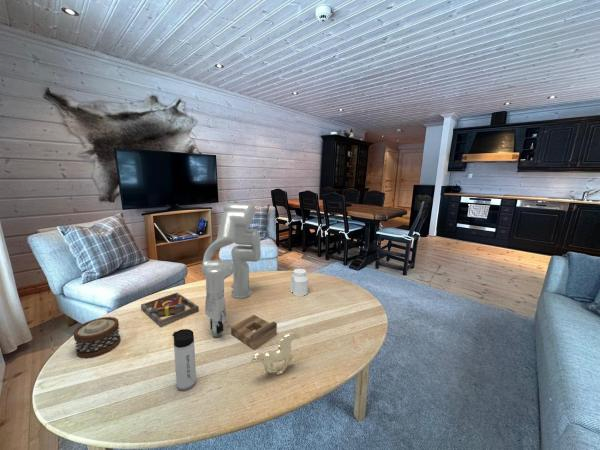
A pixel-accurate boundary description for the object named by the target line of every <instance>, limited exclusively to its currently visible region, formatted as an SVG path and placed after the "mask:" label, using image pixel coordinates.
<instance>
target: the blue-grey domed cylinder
mask: <svg viewBox="0 0 600 450" xmlns="http://www.w3.org/2000/svg"><path fill="white" fill-rule="evenodd" d="M219 322H221V320H220V321H219ZM216 326H217V322H216V321H214V320H213V319H212V329H211V331H212V337H214V338H218V337H221V335H222V334H223V333H222V332H223V331H222V332H220V333H218V334H217V332H216Z"/></svg>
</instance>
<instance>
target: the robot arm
mask: <svg viewBox="0 0 600 450" xmlns="http://www.w3.org/2000/svg"><path fill="white" fill-rule="evenodd" d="M255 216H256V207H255V205H254V204H252V203H241V202H240V203H239V202H227V203H225V204H223V212H222V214H221V216H220V222H219V226H218V227H219V228H218V233H217V238H216V239H215V240H214V241H213V242H212V243H211V244H210V245H209V246H208V247H207V249H206V250H205V251H204V254H203V259H202V265H201V273H202V275H203V276H205V288H206V289H205V290H206V292H205V293H206V296H205V302H204V303H205V315H206V316H207V317H208V318H209V322H210V325H209V326H210V330H212V319H213V320H214V321H216V322H217V326H216V332H217V334H218V333H220V332H223V331H224V324H225V323H227V319H226V317H227V308H226V300H225V299H226V298H225V279H228V278H230V277H231V276H232V275H233V276H232V278H233V284H232V285H231V289H232V291H231V293H230V296H231V297H232V298H234V299H246V298H249V297H250V296H251V295H252V293H253V292H252V289H250V267H249V264H248V262H254V263H255V262H256V263H257V262H259V261H260V259H261V252H262V251H261V249H262V248H261V235H260V232H259V230H257V229H252V228H248V227H249V226H250V225H251V224H252V221H253V220H254V218H255ZM232 244H236V245H235V246H233V247H232V248H231V253H230V254H231V259H232V261H229V260H218V259H217V260H216V259H213V256H214V255H215V253H216V252H217V251H219V250H220V249H222V248H225V247H227V246H230V245H232ZM220 320H221V322H219V321H220Z"/></svg>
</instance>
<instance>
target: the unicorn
mask: <svg viewBox="0 0 600 450" xmlns="http://www.w3.org/2000/svg"><path fill="white" fill-rule="evenodd" d="M297 331H298V326H297V327H296V329H295V331H294V330H293V329H291V332H288V333H286V334H285V335H283V336H282V338H281V339H279V342H278V343H277V345H276V348H277V349H276V350H273V351H270V350H269V351H265V352H264V353H263V352H257V353H255V354H254V355H253V356H252V358H251V360H250V362H249V364H251V365H252V364H255V363H261V364H262V365H263V369H264V371H265V372H266V373H269V374H272V373H276V375H277V376H279V375H282V374H283V372H285V370H286V369H287V367H288V366H289V365H290V364H291V362H292V361H293V359H294V357H295V356H294V354H292V353H291V352H292V341H293V340H300V339H301V335H299V334H297ZM282 361H284V362H283V367H282V368H281V369H280V370H278V369H274V368H273V367H274V363H279V362H282Z"/></svg>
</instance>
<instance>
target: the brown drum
mask: <svg viewBox="0 0 600 450" xmlns="http://www.w3.org/2000/svg"><path fill="white" fill-rule="evenodd" d="M119 332H120V323H119V319H118V318H117V317H114V316H105V317H98V318H94V319H92V320H89V321H86V322H84V323H82V324H80V325H79V326H77V327H76V328H75V329H74V330H73V340H74V342H75V343H74V345H75V350H76V351H75V353H76V356H77V357H78V358H80V359H94V358H96V357H97V358H98V357H100V356H104V355H106V354H107V353H110V352H111V351H113V350H115V349H116V348H117V347H118V346H119V345H120V344H121V342H122V341H121V334H120V333H119Z"/></svg>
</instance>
